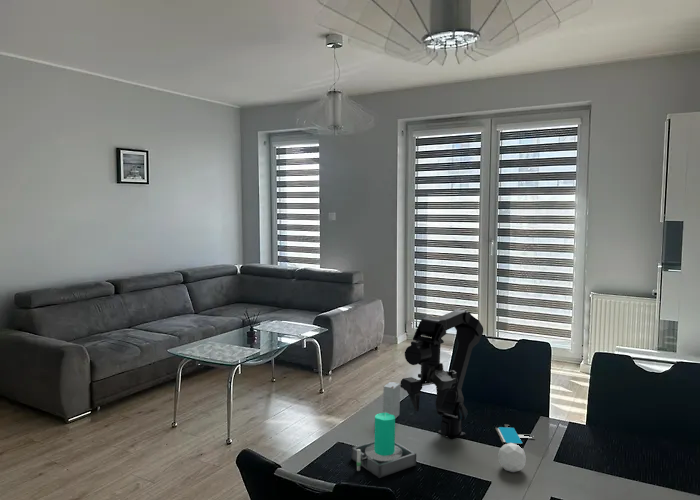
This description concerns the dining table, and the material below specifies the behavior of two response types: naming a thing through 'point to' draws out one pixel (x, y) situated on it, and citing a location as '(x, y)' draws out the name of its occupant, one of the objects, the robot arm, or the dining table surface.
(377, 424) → the candle
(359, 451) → the scale housing
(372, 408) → the dining table surface
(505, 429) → the phone stand
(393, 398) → the skincare box
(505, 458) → the geometric ball
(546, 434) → the dining table surface
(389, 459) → the scale pan
